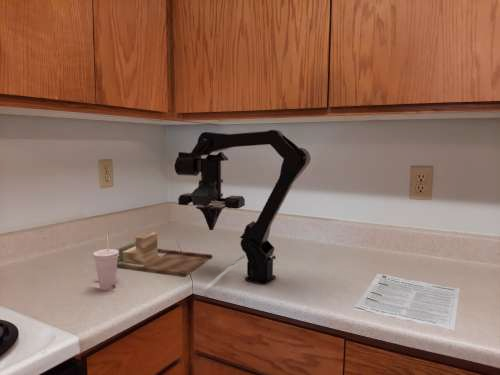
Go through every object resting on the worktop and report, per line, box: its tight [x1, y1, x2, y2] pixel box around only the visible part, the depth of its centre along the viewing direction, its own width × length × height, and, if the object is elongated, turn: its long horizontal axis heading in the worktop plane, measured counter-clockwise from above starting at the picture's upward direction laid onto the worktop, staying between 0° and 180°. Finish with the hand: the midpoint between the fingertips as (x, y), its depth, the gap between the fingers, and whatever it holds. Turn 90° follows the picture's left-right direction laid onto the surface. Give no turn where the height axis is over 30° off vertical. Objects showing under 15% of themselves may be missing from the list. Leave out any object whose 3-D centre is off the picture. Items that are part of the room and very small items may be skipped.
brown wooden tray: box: [116, 240, 213, 278], centre depth 112 cm, size 26×18×6 cm
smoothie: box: [92, 235, 119, 292], centre depth 95 cm, size 6×6×14 cm
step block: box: [122, 231, 159, 264], centre depth 114 cm, size 8×7×8 cm
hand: (211, 229), depth 106 cm, fingers closed
